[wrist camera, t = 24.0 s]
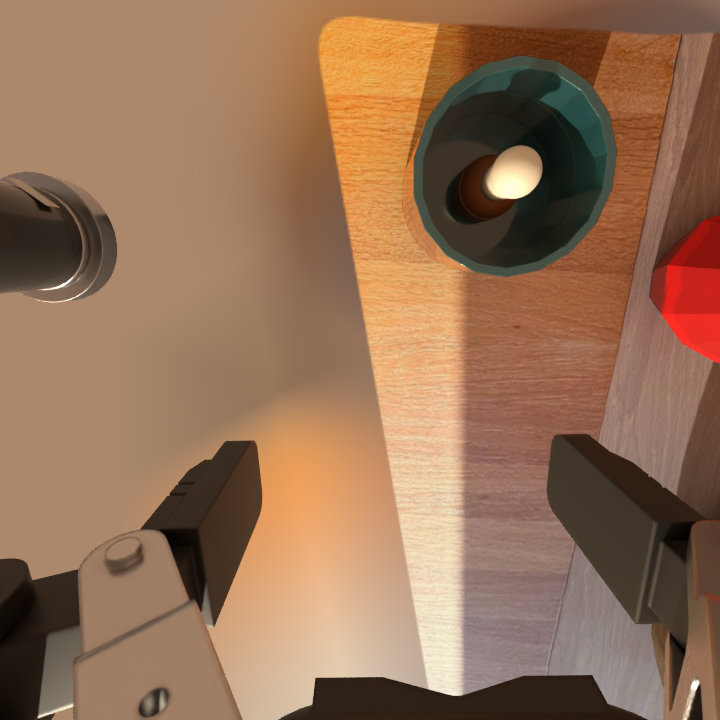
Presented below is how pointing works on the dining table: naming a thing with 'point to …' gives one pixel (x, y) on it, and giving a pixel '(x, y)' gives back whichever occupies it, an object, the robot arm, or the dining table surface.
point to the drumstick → (495, 183)
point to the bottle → (692, 288)
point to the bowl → (495, 135)
